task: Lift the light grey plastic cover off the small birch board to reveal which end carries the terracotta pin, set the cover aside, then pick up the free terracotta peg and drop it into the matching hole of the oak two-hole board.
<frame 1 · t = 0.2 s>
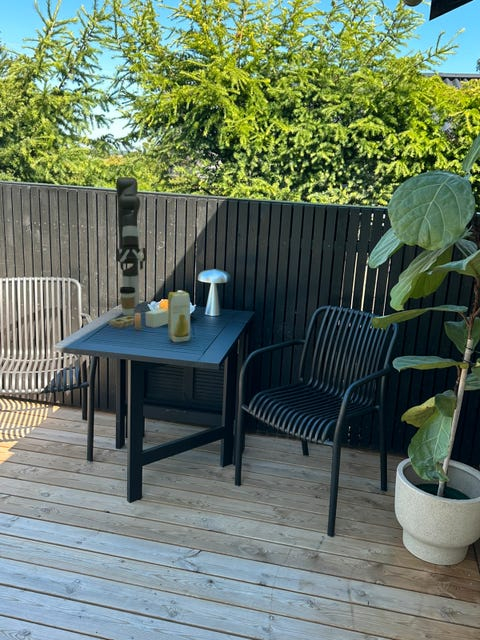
hand: (131, 270, 276), 31 cm above the table, tool tilted 20°, fingers open, 8 cm apart
coffee cup: (128, 314, 316), on the table
juice carton: (179, 340, 272), on the table
socket board: (125, 323, 297), on the table
terracotta peg: (138, 329, 288), on the table
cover: (157, 324, 297), on the table
pattern board: (157, 324, 297), on the table
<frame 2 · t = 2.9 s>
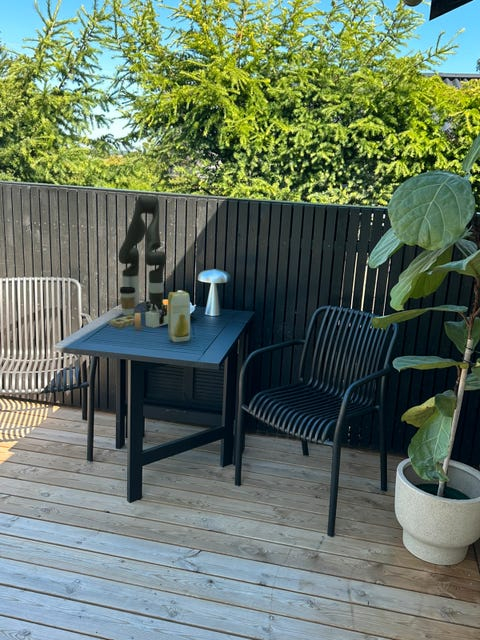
hand: (157, 322, 297), 1 cm above the table, tool pointing down, fingers closed on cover, 6 cm apart
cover: (157, 324, 297), on the table, touching gripper
everything else where it was.
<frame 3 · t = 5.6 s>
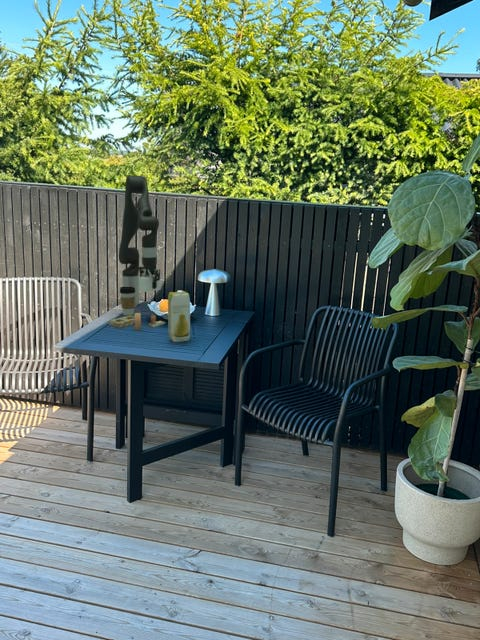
hand: (150, 287, 301), 18 cm above the table, tool pointing down, fingers closed on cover, 6 cm apart
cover: (150, 289, 301), point 16 cm above the table, touching gripper
everything else where it was.
when the fingers open (3 cm above the table, at t = 8.5 s): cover drops 2 cm, on the table.
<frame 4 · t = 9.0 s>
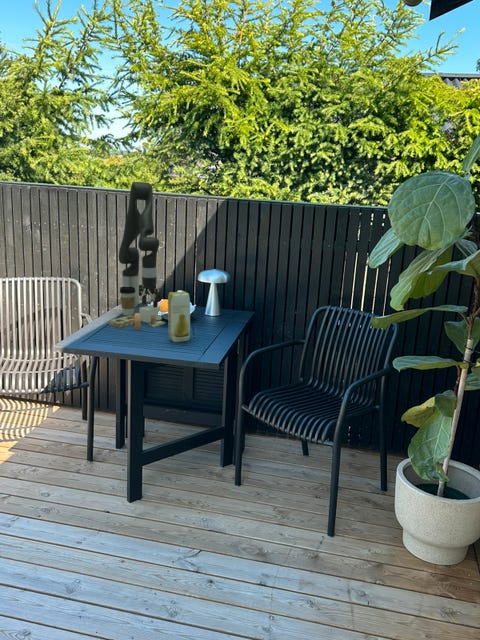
hand: (149, 305, 303), 8 cm above the table, tool pointing down, fingers open, 8 cm apart
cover: (150, 319, 305), on the table
everything else where it was.
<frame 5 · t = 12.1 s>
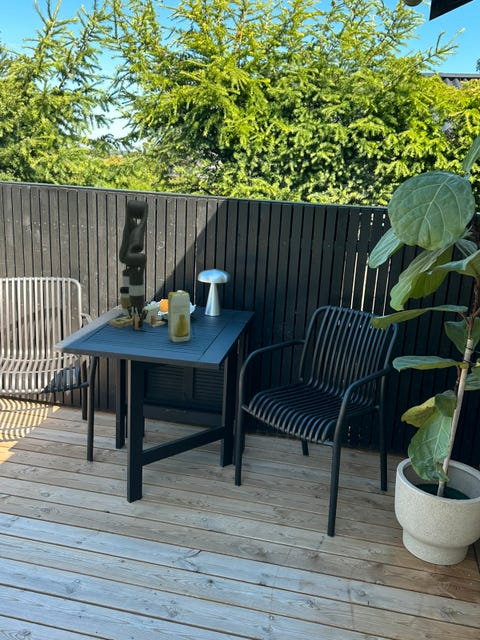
hand: (137, 326, 288), 1 cm above the table, tool pointing down, fingers closed on terracotta peg, 3 cm apart
terracotta peg: (138, 329, 288), on the table, touching gripper
everything else where it was.
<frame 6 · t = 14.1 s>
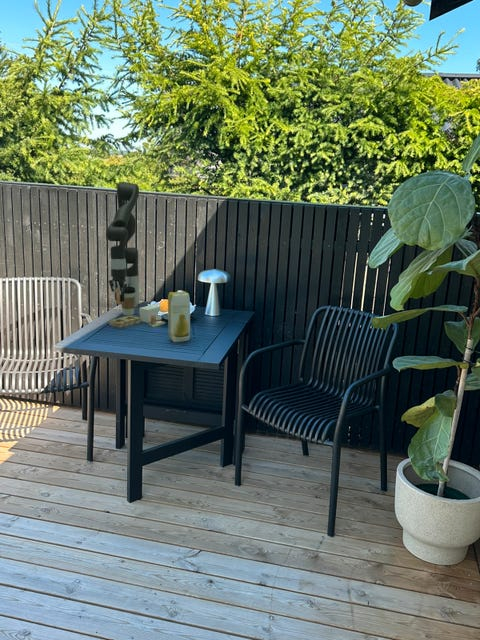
hand: (119, 300, 291), 13 cm above the table, tool pointing down, fingers closed on terracotta peg, 3 cm apart
terracotta peg: (119, 303, 292), point 12 cm above the table, touching gripper
everything else where it was.
when the fingers open (3 cm above the table, at t = 16.2 s): terracotta peg drops 2 cm, resting in socket board.
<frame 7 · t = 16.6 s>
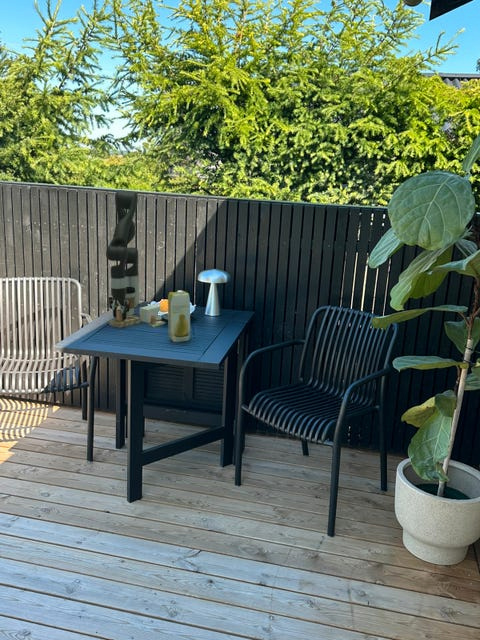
hand: (119, 318, 294), 4 cm above the table, tool pointing down, fingers open, 6 cm apart
terracotta peg: (119, 325, 295), resting in socket board
everything else where it was.
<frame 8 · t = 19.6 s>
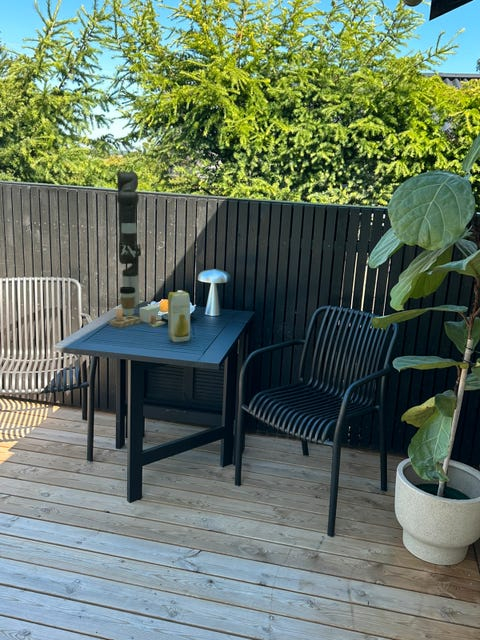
hand: (130, 263, 298), 30 cm above the table, tool pointing down, fingers open, 8 cm apart
nothing on the table moved.
at the end: terracotta peg 0.1 cm from the target spot on the socket board, point 0.0 cm above the socket board's base; terracotta peg tilted 0°; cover moved 9.9 cm from its start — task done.
